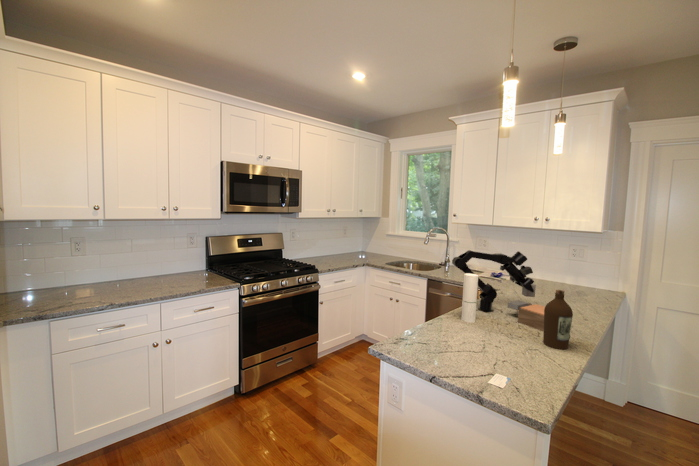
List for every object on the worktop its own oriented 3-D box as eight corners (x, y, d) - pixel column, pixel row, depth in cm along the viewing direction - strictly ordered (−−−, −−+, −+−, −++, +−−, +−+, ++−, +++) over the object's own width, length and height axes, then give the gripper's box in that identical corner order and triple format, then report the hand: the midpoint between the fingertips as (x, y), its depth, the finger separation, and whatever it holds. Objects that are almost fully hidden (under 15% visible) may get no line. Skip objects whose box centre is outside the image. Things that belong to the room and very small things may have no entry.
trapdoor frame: (544, 331, 159) (545, 316, 158) (517, 322, 171) (518, 308, 170) (563, 326, 167) (564, 312, 167) (537, 317, 180) (538, 304, 179)
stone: (534, 297, 185) (535, 285, 184) (525, 296, 185) (526, 284, 184) (530, 294, 190) (531, 283, 189) (521, 294, 190) (522, 282, 189)
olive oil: (536, 341, 147) (540, 287, 145) (555, 339, 149) (559, 287, 147) (555, 351, 136) (560, 294, 134) (575, 349, 139) (581, 293, 137)
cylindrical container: (475, 319, 173) (478, 274, 171) (474, 323, 167) (478, 276, 165) (461, 317, 176) (464, 272, 174) (460, 321, 170) (463, 275, 168)
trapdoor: (547, 321, 159) (547, 315, 159) (505, 307, 179) (505, 302, 179) (562, 317, 166) (563, 311, 166) (520, 304, 186) (521, 299, 186)
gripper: (531, 264, 177) (550, 285, 177) (516, 259, 195) (534, 278, 195) (516, 277, 178) (534, 298, 178) (502, 271, 196) (519, 290, 196)
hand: (531, 290), depth 187 cm, fingers closed on stone, 5 cm apart
